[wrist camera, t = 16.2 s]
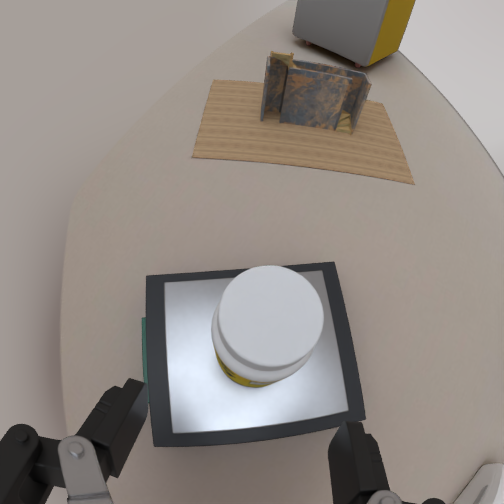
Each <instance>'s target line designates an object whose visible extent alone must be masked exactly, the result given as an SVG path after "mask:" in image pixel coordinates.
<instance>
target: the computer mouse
mask: <svg viewBox="0 0 504 504" xmlns="http://www.w3.org/2000/svg"><path fill="white" fill-rule="evenodd" d="M453 504H504V464H502V463H492V464H485V465H483V466H482V467H481V468H480V469H479V471H478V472H477V473H476V475H475V476H474V477H473V479H472V480H471V481H470V483H469V484H468V485H467V487H466V488H465V489H464V490H463V492H462V493H461V494H460V496H459V497H458V498H457V499H456V501H455V502H454V503H453Z"/></svg>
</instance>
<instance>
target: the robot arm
mask: <svg viewBox="0 0 504 504" xmlns="http://www.w3.org/2000/svg"><path fill="white" fill-rule="evenodd" d="M147 413H148V385H147V383H143V382H140V381H137V380H134V379H131V378H129V379H128V380H127V382H126V383H125V385H124V386H123V388H120V387H117V386H114V387H112V388H111V389H109V390H107V391H106V392H105V393H104V394H103V396H102V397H101V399H100V400H99V402H98V403H97V404H96V406H95V408H94V409H93V410H92V412H91V413H90V415H89V416H88V418H87V419H86V421H85V422H84V424H83V425H82V427H81V428H80V429H79V431H78V432H77V434H76V435H74V436H69V437H66V438H64V439H63V440H55V439H50V438H45V437H40V436H38V434H37V432H36V431H35V429H34V428H32V427H31V426H29V425H26V424H17V425H14V426H12V427H11V428H10V429H9V430H8V431H7V433H6V434H5V435H4V437H3V438H2V440H1V441H0V504H45V503H46V501H47V498H48V497H49V495H50V493H51V491H52V489H53V487H54V486H57V487H62V488H66V489H67V493H68V498H67V502H68V504H114V503H113V501H112V498H111V496H110V493H109V490H108V488H107V485H106V482H107V480H108V478H109V476H110V475H111V476H114V477H116V478H118V477H119V475H120V472H121V470H122V468H123V466H124V464H125V462H126V460H127V458H128V456H129V453H130V451H131V449H132V447H133V445H134V443H135V441H136V439H137V437H138V435H139V433H140V431H141V429H142V426H143V424H144V422H145V420H146V417H147ZM328 460H329V468H330V477H331V486H332V495H333V504H415V503H409V502H404V501H401V499H400V497H399V496H398V495H397V494H396V493H394V492H392V491H390V488H389V484H388V481H387V477H386V473H385V469H384V465H383V462H382V458H381V454H380V451H379V447H378V443H377V442H376V440H375V439H374V438H373V437H372V435H371V434H365V431H364V428H363V424H362V423H361V422H352V421H343V422H342V423H341V425H340V427H339V429H338V430H337V432H336V434H335V436H334V437H333V439H332V441H331V443H330V445H329V449H328ZM422 504H445V503H444V502H443V501H442V500H440V499H437V498H430V499H427V500H426V501H424V502H423V503H422Z"/></svg>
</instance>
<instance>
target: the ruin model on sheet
mask: <svg viewBox="0 0 504 504" xmlns="http://www.w3.org/2000/svg"><path fill="white" fill-rule="evenodd" d="M293 55H294V53H291V54H286V53H278V52H273V51H271V56H268V57H267V64H266V72H265V80H264V83H258V82H246V81H231V80H213V82H212V85H211V89H210V92H209V96H208V99H207V103H206V106H205V110H204V113H203V117H202V120H201V124H200V128H199V132H198V135H197V139H196V143H195V147H194V151H193V155H192V157H194V158H213V159H229V160H243V161H255V162H266V163H276V164H285V165H294V166H303V167H311V168H319V169H326V170H333V171H340V172H347V173H353V174H360V175H366V176H372V177H377V178H383V179H389V180H394V181H399V182H404V183H409V184H414V181H413V178H412V175H411V172H410V169H409V166H408V164H407V161H406V158H405V156H404V153H403V150H402V148H401V145H400V143H399V140H398V138H397V135H396V133H395V131H394V128H393V126H392V124H391V121H390V119H389V117H388V115H387V112H386V110H385V108H384V106H383V104H382V103H378V102H374V101H369V100H366V98H367V95H368V93H369V90H370V87H371V85H372V84H371V82H370V80H369V78H368V76H367V74H366V73H363V72H359V71H354V70H350V69H345V68H341V67H336V66H331V65H326V64H320V63H315V62H308V61H302V60H295V59H293ZM414 185H415V184H414Z"/></svg>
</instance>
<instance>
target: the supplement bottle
mask: <svg viewBox="0 0 504 504" xmlns="http://www.w3.org/2000/svg"><path fill="white" fill-rule="evenodd" d="M323 322H324V312H323V306H322V303H321V300H320V298H319V295H318V294H317V292H316V290H315V289H314V287H313V286H312V285H311V284H310V283H309V282H308V281H307V280H306V279H305V278H304V277H303V276H301V275H300V274H298V273H297V272H295V271H293V270H290V269H288V268H285V267H281V266H273V265H266V266H258V267H254V268H251V269H248V270H246V271H244V272H242V273H241V274H239V275H238V276H237V277H235V278H234V279H233V280H232V281H231V282H230V284H229V285H228V286H227V287H226V289H225V291H224V292H223V294H222V297H221V299H220V302H219V303H218V305H217V307H216V309H215V312H214V315H213V318H212V326H211V334H212V341H213V346H214V349H215V353H216V358H217V361H218V363H219V365H220V367H221V369H222V371H223V372H224V373H225V374H226V376H227V377H228V378H230V379H231V380H232V381H234V382H235V383H237V384H239V385H242V386H246V387H251V388H259V387H265V386H268V385H271V384H273V383H276V382H278V381H281V380H283V379H285V378H287V377H289V376H291V375H293V374H294V373H296V372H297V371H298V370H300V369H301V368H302V367H303V366H304V365H305V363H306V362H307V361H308V359H309V358H310V356H311V354H312V352H313V350H314V347H315V345H316V343H317V342H318V340H319V338H320V335H321V332H322V329H323Z"/></svg>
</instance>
